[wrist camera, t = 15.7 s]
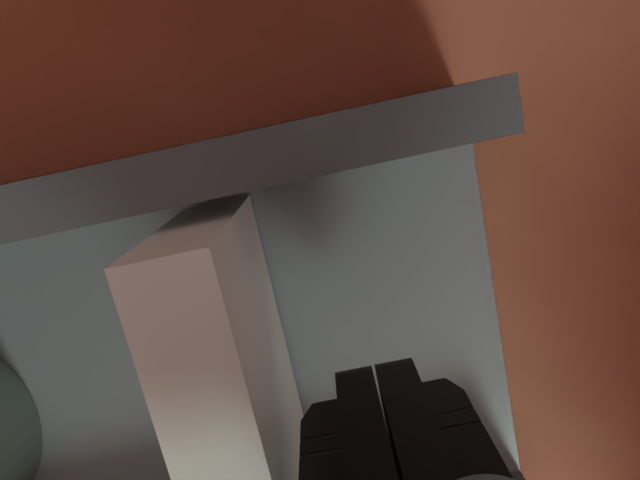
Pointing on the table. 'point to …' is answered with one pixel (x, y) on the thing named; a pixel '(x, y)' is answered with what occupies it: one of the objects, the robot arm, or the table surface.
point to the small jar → (18, 428)
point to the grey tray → (268, 264)
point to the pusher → (210, 346)
